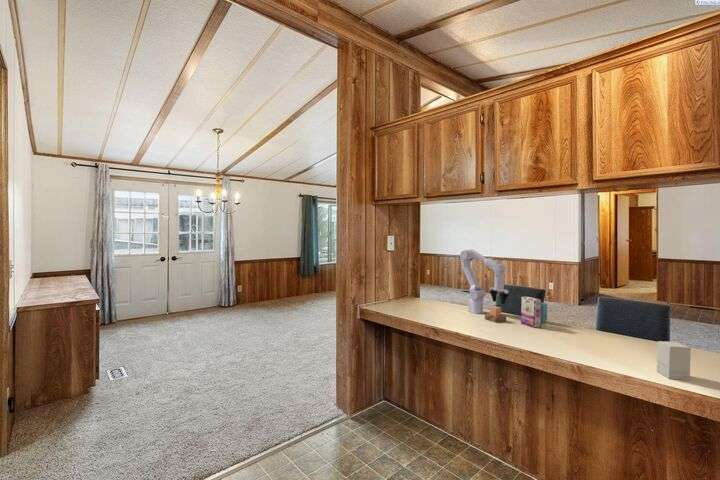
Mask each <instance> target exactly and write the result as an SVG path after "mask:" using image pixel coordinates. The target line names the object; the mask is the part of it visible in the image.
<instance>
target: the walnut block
mask: <svg viewBox="0 0 720 480" xmlns="http://www.w3.org/2000/svg"><path fill="white" fill-rule="evenodd" d="M484 320H485V321H489V322H492V323H503V322H507V316H506V315H503V314H501V316H492V315H490V313H487V314H485V313H484Z"/></svg>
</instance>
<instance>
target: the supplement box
mask: <svg viewBox="0 0 720 480" xmlns="http://www.w3.org/2000/svg"><path fill="white" fill-rule="evenodd" d="M656 345H657V347H656V349H657V351H656V353H657V354H656V372H657V373H658V372H659V374H660V375H662V376H664V377H665V378H667V379H670V380H679V379H680V380H682V381H690V380H691V350H692V349H691V347H690V346H687V345H684V344H683V343H680V342H678V341H666V340H665V341H661V340H660V341H657V344H656Z"/></svg>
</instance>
